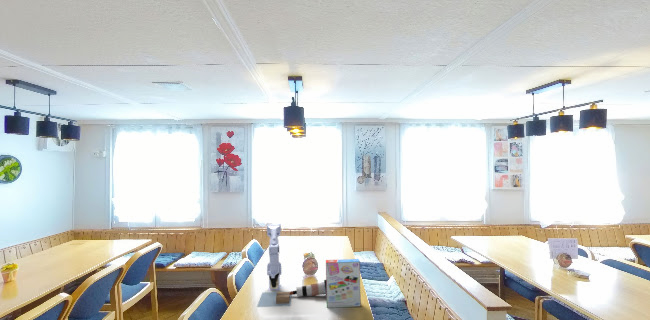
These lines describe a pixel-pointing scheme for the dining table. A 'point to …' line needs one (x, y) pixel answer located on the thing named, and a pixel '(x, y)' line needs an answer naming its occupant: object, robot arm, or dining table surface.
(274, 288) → the maple cube
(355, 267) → the game box
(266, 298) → the mat
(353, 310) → the dining table surface
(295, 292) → the cable
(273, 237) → the robot arm
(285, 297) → the walnut base
